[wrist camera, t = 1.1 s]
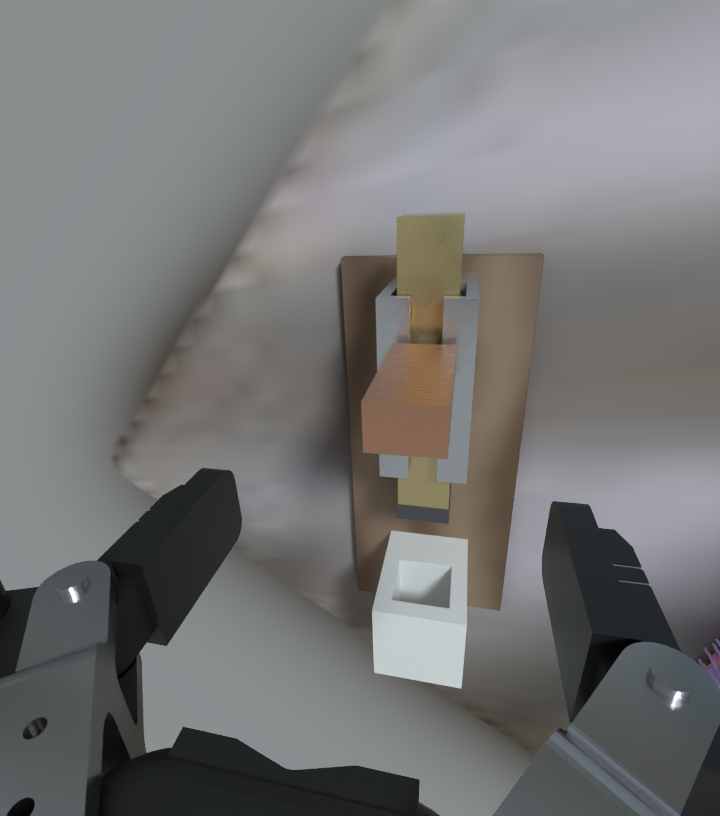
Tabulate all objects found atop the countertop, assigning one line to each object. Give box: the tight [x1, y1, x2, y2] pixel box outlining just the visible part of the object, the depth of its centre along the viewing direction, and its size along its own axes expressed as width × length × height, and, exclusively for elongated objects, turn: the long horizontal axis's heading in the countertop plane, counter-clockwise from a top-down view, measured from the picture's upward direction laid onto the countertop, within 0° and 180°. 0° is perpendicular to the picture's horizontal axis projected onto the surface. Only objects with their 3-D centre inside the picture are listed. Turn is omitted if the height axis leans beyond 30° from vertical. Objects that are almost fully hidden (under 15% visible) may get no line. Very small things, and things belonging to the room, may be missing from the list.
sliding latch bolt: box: [361, 213, 465, 524], centre depth 22 cm, size 3×17×12 cm, turn 2°
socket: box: [372, 531, 468, 688], centre depth 34 cm, size 6×6×8 cm
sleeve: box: [376, 274, 480, 484], centre depth 27 cm, size 5×10×7 cm, turn 2°
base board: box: [341, 253, 544, 611], centre depth 34 cm, size 12×28×1 cm, turn 2°
